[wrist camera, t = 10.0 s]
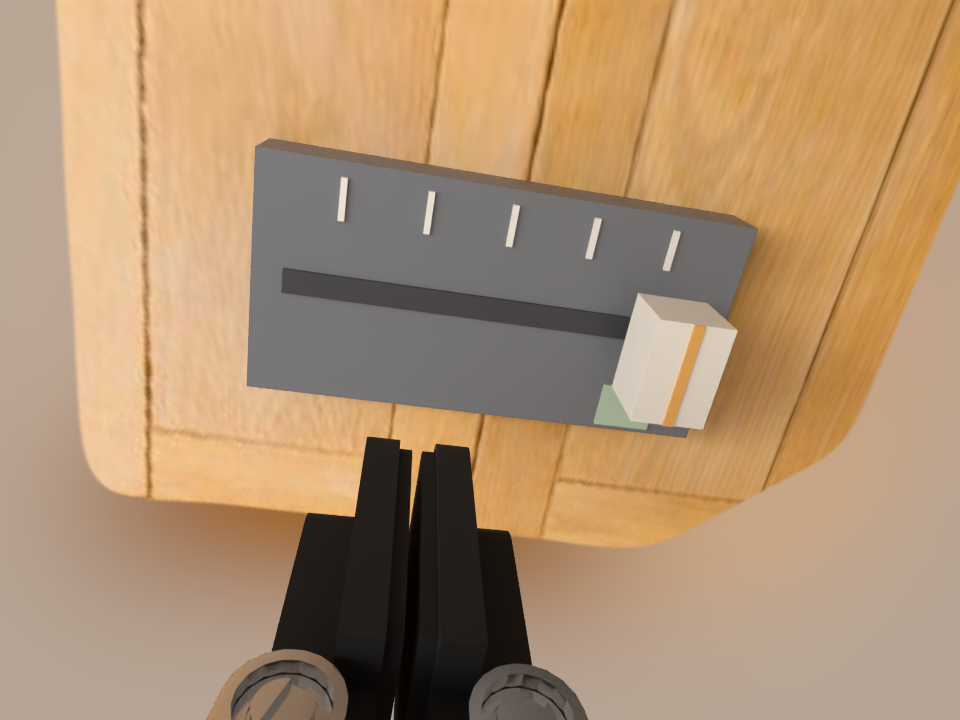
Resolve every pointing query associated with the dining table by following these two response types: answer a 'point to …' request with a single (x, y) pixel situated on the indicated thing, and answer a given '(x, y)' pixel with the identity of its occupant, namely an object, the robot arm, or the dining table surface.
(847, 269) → the dining table surface
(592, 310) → the console
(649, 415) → the fader
